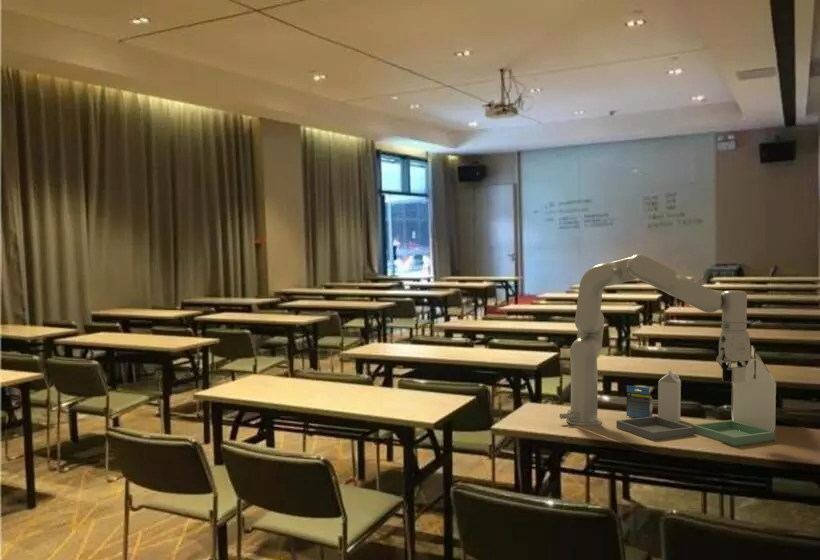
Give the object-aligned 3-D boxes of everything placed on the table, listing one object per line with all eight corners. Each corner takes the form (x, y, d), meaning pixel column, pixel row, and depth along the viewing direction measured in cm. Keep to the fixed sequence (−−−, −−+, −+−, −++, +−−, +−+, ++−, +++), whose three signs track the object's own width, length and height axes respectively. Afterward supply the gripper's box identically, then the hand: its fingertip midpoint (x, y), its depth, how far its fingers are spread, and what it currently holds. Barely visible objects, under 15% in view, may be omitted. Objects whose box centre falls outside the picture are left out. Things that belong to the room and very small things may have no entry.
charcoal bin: (652, 441, 223) (652, 432, 223) (616, 428, 240) (616, 420, 240) (694, 436, 230) (694, 427, 230) (656, 424, 247) (656, 415, 247)
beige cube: (734, 383, 225) (734, 368, 225) (722, 380, 229) (722, 366, 229) (745, 382, 227) (745, 367, 227) (733, 379, 231) (733, 365, 231)
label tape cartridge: (652, 418, 255) (653, 386, 255) (649, 420, 252) (649, 387, 252) (629, 415, 261) (630, 383, 260) (626, 417, 258) (626, 385, 257)
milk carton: (657, 421, 250) (658, 370, 250) (660, 417, 257) (661, 368, 256) (678, 424, 247) (678, 372, 246) (680, 419, 253) (681, 369, 253)
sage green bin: (734, 446, 217) (734, 437, 217) (691, 433, 234) (691, 424, 234) (774, 441, 224) (775, 432, 224) (730, 428, 241) (730, 420, 240)
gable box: (731, 415, 261) (732, 343, 260) (770, 418, 255) (771, 345, 254) (733, 428, 240) (734, 350, 239) (775, 432, 235) (776, 352, 234)
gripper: (724, 329, 221) (723, 384, 221) (762, 327, 227) (761, 380, 228) (706, 327, 228) (705, 380, 228) (743, 325, 234) (742, 377, 235)
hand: (733, 380), depth 228 cm, fingers closed on beige cube, 5 cm apart
